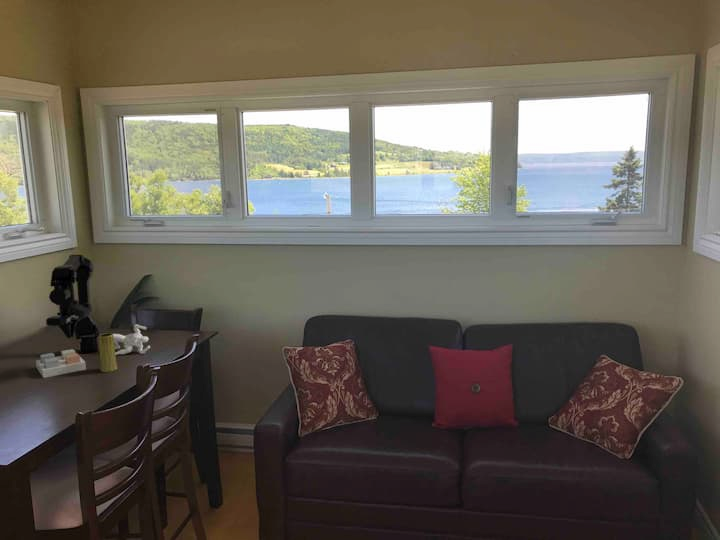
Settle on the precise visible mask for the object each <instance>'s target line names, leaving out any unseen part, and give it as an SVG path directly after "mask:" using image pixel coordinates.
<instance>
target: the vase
mask: <svg viewBox="0 0 720 540" xmlns="http://www.w3.org/2000/svg"><path fill="white" fill-rule="evenodd" d="M113 334H114V333H112V332H111V333H110V332H104V333H100V335H99V337H98V345H99V346H98V347H99V355H100V356H99V357H100V372H102V373H111V372H115V371H116V370H118V364H117V359H116V355H115V353H116V349H115V344H114V338H113Z"/></svg>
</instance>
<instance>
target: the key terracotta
mask: <svg viewBox="0 0 720 540" xmlns="http://www.w3.org/2000/svg"><path fill="white" fill-rule="evenodd" d="M75 353H76V354H71V355H65V361H66V363H67V364H73V363H79V362H80V357H81V356H80V355H79V354H78V352H75Z"/></svg>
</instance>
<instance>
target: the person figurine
mask: <svg viewBox="0 0 720 540" xmlns="http://www.w3.org/2000/svg"><path fill="white" fill-rule="evenodd" d="M140 329H142V330H147V327H146V326H143V325H140V324H137V323H136V324H134V325H133V331H134V332H132V333H129V334H127V335H123V334H120V333H112V334H113V338H114V347H115V350H118V349H119V350H118V351H115V356H117V355H125V354H130V353H131V352H132V351H133V349H134V348H133V347H136V348H137V352H138V353H139V354H140V355H143V354H145V353H146V352H147V351H148V350H149V349H151V346H150V345H147V346H146V348H144V345H143V343H147V342H149V337H148V336H145V335H144V336H143V334H141V330H140ZM119 343H123V347H124V349H120V348H121V346H120V345H119ZM143 348H144V349H143Z"/></svg>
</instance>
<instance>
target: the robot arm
mask: <svg viewBox="0 0 720 540" xmlns="http://www.w3.org/2000/svg"><path fill="white" fill-rule="evenodd" d="M94 269H95V268H94V264H93V262H92V260H90V259H88V258H87V257H85V256H84V255H83V254H71V255H69V256H68V259H66V261H65V262H64V264H63V265H57V266H55V267H54V268H53V269H52V271H51V279H50V287H53V289H52V290H51V291H50V293H49V300H50V302H51V303H53V305H56V306H58V310H59V312H57V313H56V314H57V315H52V316H49V317H48V318H46V320H45V323H46V326H57V327H59V328H60V329H61V330H62V332H63V334H64V335H65V336H66V338H67V339H71V338H73V337H74V336H75V339H76V340H79V341H78V348H79V349H78V350H79V352H81V354H89V353H96V352H100V348H99V346H98V339H99V335H101V333H100V328H99V327H98V325H97V324H96V323H97V321H96V319H95V318H94V316H93V315H92V311H93V308H92V303H91V296H90V295H91V294H90V280H92V279H91V278H92V277H93V272H94ZM75 283H76V286H77V299H75V289H74V288H75V287H74V285H75ZM98 348H99V349H98Z"/></svg>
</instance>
